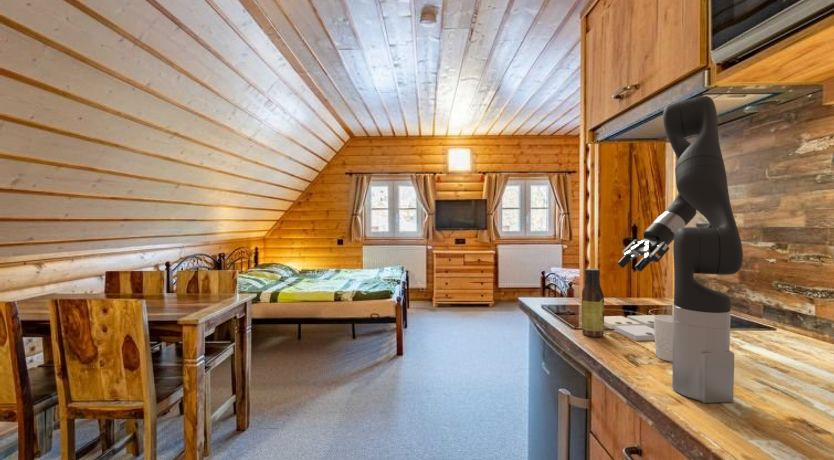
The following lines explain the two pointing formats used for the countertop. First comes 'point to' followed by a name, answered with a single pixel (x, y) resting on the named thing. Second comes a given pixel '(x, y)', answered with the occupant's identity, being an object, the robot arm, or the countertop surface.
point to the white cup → (664, 336)
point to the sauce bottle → (592, 305)
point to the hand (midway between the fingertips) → (628, 267)
